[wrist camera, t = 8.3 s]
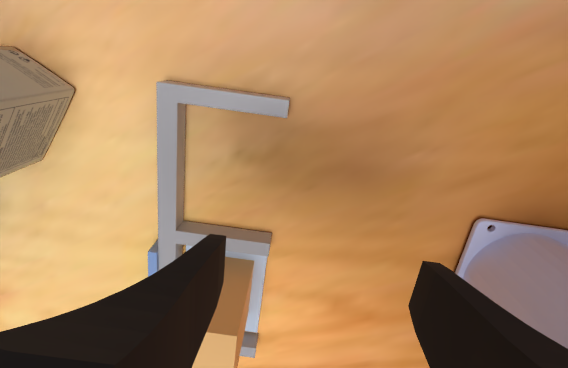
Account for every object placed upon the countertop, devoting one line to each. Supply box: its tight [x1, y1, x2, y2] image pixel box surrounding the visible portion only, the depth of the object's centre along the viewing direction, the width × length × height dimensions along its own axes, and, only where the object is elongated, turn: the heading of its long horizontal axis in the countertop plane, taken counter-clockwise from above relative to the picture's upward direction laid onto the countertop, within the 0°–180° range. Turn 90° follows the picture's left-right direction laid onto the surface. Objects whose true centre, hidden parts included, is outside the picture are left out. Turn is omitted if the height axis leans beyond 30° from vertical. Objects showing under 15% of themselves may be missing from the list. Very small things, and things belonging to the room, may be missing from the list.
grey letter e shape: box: [148, 80, 290, 358], centre depth 22 cm, size 8×20×2 cm, turn 173°
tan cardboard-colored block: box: [192, 257, 254, 368], centre depth 21 cm, size 4×5×7 cm
